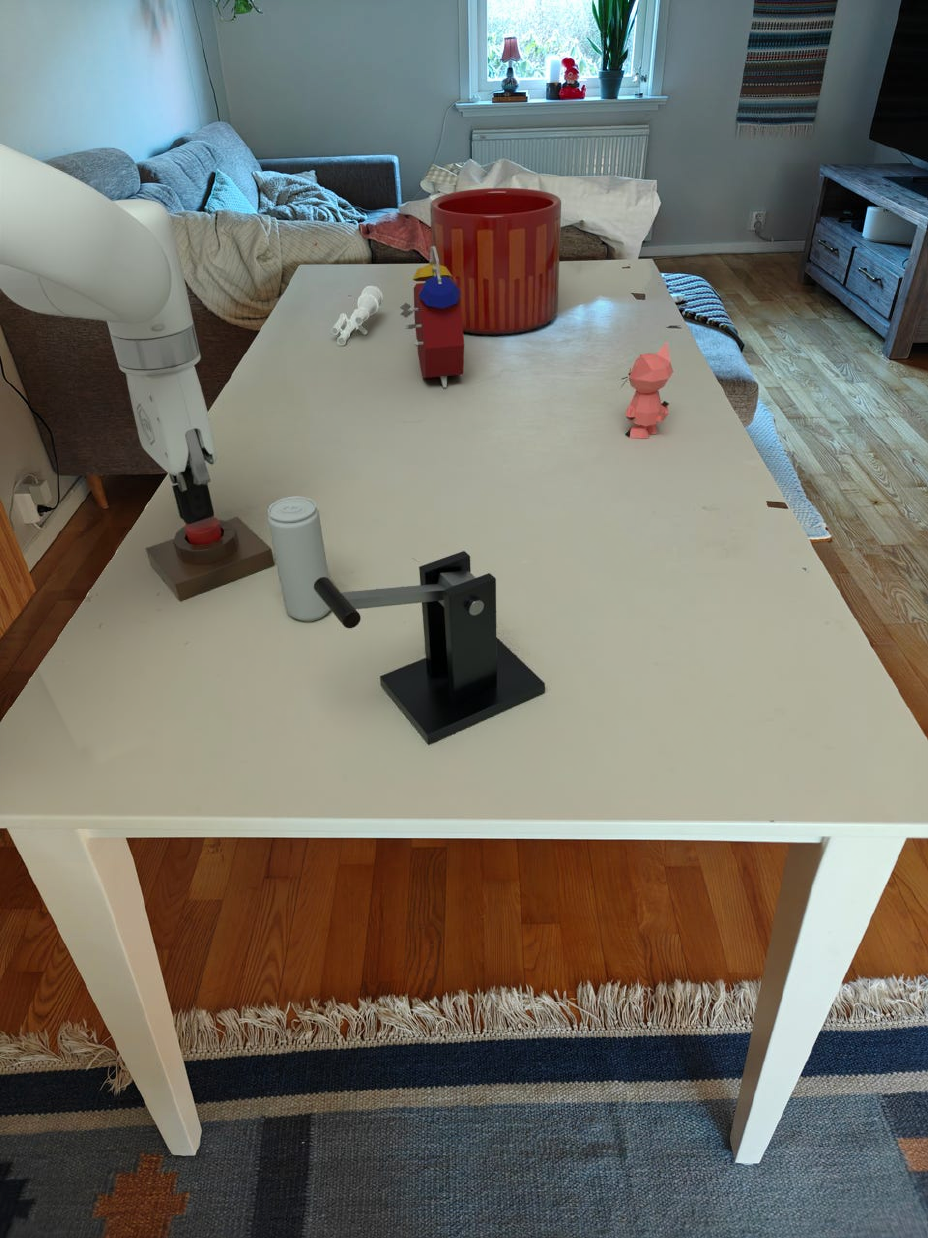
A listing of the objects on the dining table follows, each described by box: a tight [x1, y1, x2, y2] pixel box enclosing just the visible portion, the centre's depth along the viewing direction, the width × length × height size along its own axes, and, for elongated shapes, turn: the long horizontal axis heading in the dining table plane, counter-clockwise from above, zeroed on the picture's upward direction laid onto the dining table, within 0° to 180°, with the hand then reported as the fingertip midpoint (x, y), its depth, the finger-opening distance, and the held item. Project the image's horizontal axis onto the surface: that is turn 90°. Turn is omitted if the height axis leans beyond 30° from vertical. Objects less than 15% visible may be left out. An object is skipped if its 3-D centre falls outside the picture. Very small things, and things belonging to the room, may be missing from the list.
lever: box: [314, 571, 476, 629], centre depth 68 cm, size 13×6×2 cm, turn 121°
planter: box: [429, 187, 562, 336], centre depth 154 cm, size 23×23×20 cm
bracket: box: [379, 550, 546, 746], centre depth 73 cm, size 12×9×13 cm
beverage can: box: [267, 495, 331, 623], centre depth 84 cm, size 5×5×12 cm
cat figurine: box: [620, 342, 674, 440], centre depth 115 cm, size 7×7×12 cm
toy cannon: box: [330, 285, 384, 347], centre depth 154 cm, size 8×14×5 cm
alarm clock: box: [399, 246, 465, 389], centre depth 131 cm, size 15×9×20 cm, turn 9°
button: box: [184, 515, 222, 545], centre depth 92 cm, size 4×4×2 cm
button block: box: [145, 516, 275, 602], centre depth 94 cm, size 11×9×4 cm
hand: (197, 517), depth 91 cm, fingers closed
